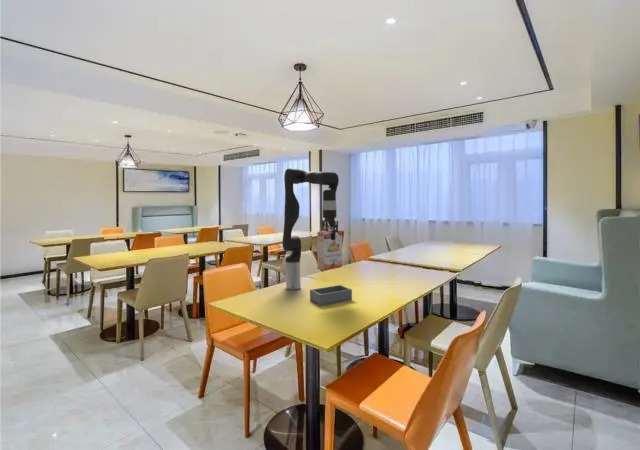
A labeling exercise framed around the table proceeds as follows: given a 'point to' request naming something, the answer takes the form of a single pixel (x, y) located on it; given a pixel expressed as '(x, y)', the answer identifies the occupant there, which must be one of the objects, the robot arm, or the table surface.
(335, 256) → the cracker box
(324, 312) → the table surface
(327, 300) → the bin
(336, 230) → the robot arm
